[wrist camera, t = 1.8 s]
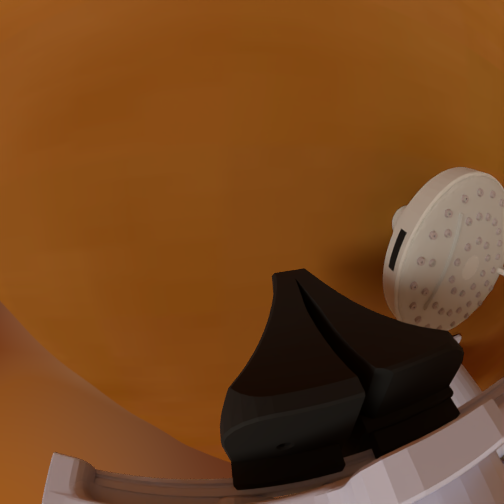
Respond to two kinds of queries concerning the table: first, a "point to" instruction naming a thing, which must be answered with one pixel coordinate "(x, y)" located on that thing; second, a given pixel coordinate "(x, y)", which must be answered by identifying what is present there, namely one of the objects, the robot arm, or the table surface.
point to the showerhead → (445, 249)
